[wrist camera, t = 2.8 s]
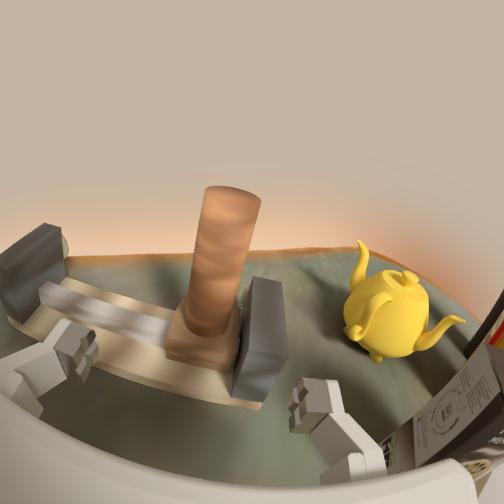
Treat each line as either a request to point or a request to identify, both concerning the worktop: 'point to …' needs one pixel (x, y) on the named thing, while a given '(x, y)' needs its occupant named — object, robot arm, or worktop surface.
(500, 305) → the bottle
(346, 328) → the teapot
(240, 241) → the wooden peg on plate
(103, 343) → the track
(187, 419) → the worktop surface
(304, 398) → the robot arm
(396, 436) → the coffee box
